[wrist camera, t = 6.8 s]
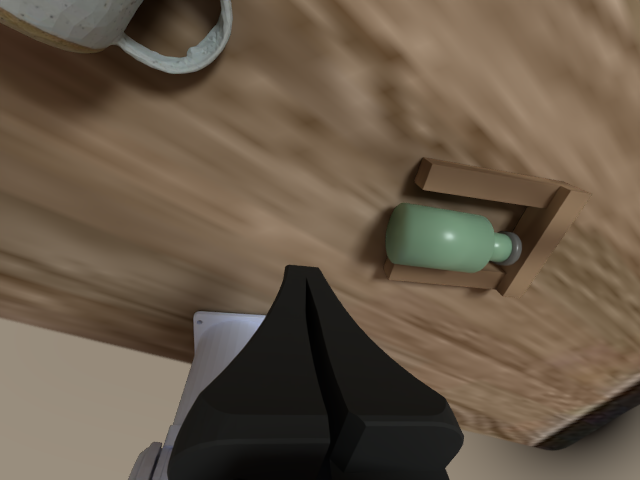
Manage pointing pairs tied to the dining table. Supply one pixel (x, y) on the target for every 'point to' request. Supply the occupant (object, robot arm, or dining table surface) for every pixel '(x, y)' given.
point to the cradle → (533, 230)
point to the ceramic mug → (106, 30)
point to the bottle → (447, 240)
